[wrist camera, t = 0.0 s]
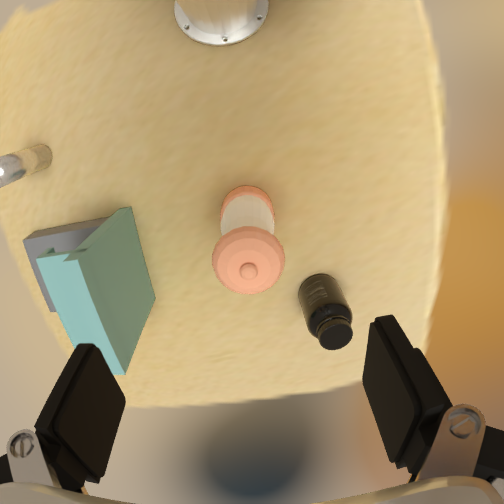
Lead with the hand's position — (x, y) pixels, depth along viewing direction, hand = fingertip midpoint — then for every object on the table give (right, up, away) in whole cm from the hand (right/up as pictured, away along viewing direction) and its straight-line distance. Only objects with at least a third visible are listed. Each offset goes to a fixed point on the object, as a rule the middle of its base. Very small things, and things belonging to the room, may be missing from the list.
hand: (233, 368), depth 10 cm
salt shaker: (0, +10, +36) cm, 37 cm away
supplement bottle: (+12, -3, +42) cm, 44 cm away
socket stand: (-26, +2, +39) cm, 47 cm away
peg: (-32, +19, +31) cm, 49 cm away
